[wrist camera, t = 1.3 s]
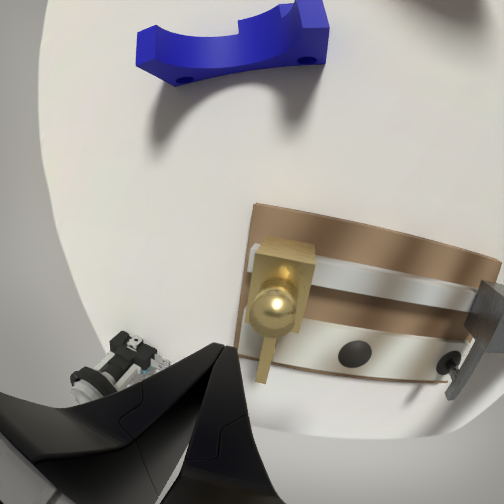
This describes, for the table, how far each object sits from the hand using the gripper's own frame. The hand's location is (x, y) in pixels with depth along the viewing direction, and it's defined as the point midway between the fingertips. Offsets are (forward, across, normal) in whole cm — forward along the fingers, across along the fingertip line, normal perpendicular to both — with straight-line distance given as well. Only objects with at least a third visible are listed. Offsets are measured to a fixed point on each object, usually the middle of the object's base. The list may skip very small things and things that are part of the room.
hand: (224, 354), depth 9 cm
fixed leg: (+10, -18, +3) cm, 21 cm away
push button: (+13, +12, +13) cm, 22 cm away
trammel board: (+12, -9, +3) cm, 16 cm away
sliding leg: (+10, -1, +3) cm, 11 cm away
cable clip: (+13, +4, -16) cm, 21 cm away
